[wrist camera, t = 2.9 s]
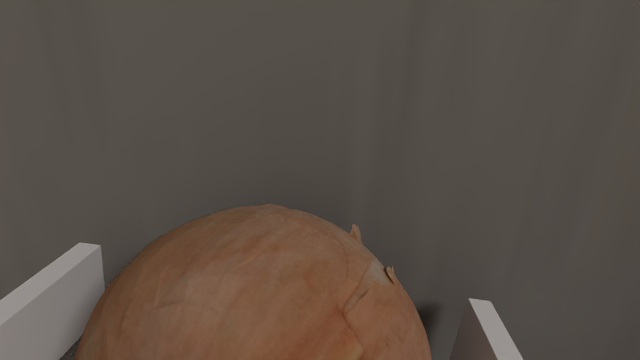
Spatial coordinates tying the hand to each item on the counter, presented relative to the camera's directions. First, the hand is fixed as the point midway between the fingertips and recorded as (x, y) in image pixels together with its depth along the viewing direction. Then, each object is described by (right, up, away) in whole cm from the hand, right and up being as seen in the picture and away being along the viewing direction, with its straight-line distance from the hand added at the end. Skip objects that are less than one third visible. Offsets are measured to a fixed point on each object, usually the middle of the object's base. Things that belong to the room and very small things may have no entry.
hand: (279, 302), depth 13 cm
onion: (0, +1, +1) cm, 2 cm away
